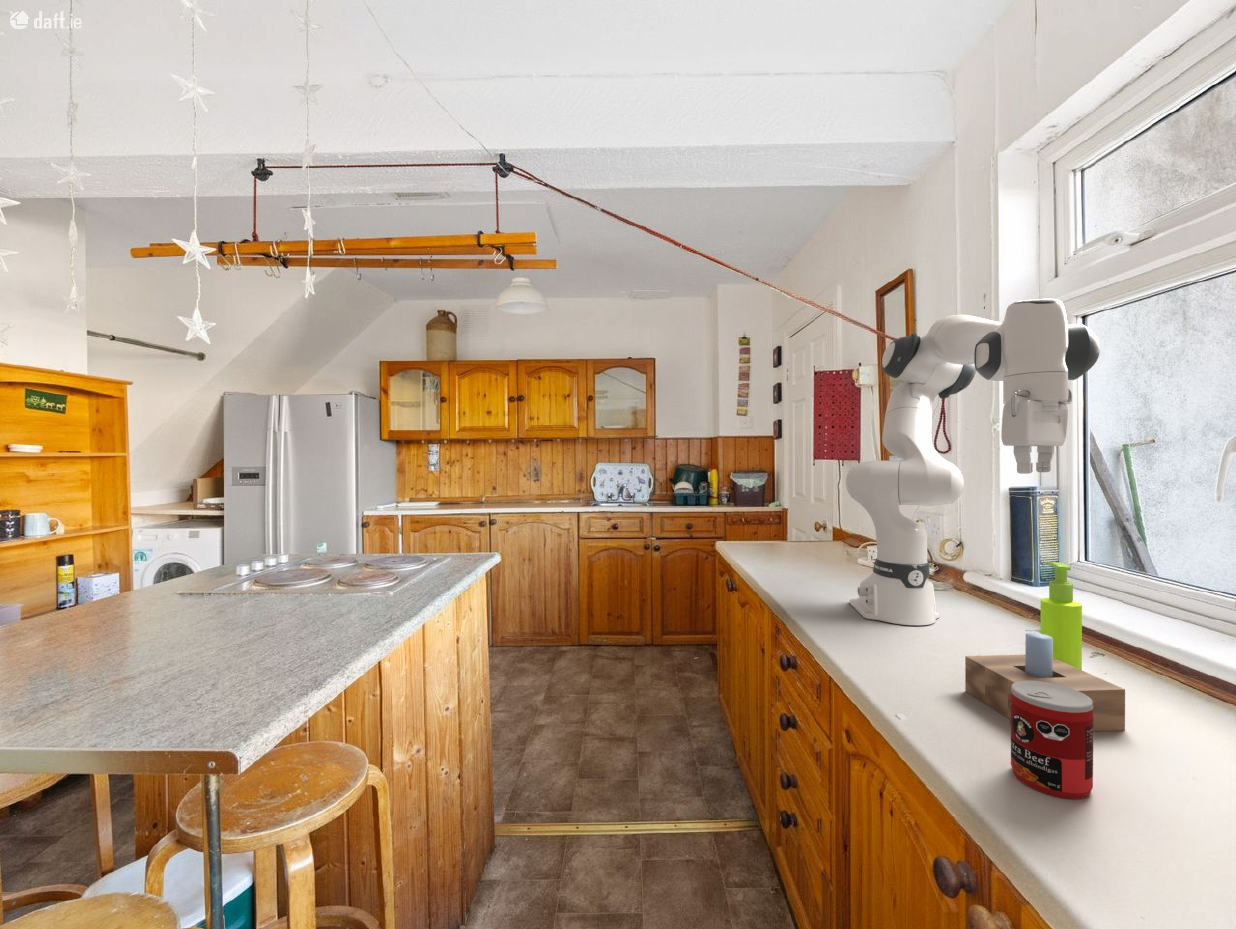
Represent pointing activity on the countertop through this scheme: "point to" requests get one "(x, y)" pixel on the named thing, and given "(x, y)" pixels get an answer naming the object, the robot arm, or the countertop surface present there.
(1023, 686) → the canned food
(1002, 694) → the socket block
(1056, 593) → the soap dispenser
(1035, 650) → the dowel
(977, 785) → the countertop surface
